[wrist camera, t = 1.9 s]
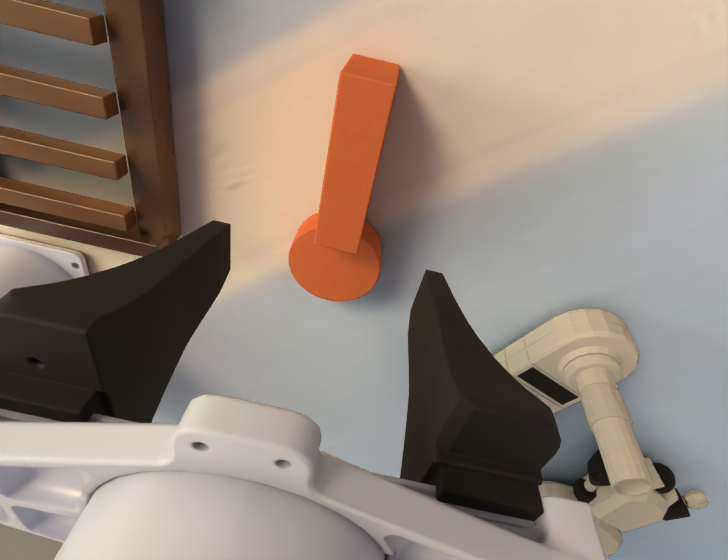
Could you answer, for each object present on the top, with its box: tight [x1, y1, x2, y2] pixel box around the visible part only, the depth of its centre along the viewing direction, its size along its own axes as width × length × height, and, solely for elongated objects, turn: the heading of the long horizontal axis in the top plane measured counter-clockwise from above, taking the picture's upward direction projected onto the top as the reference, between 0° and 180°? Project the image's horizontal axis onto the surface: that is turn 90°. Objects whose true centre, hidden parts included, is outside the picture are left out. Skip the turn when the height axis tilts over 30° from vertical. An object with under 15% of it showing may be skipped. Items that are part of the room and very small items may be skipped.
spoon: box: [289, 54, 400, 301], centre depth 21 cm, size 13×5×4 cm, turn 168°
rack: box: [0, 0, 181, 257], centre depth 19 cm, size 16×13×3 cm
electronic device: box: [493, 308, 655, 496], centre depth 26 cm, size 5×10×15 cm
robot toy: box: [539, 450, 709, 557], centre depth 36 cm, size 12×4×15 cm
